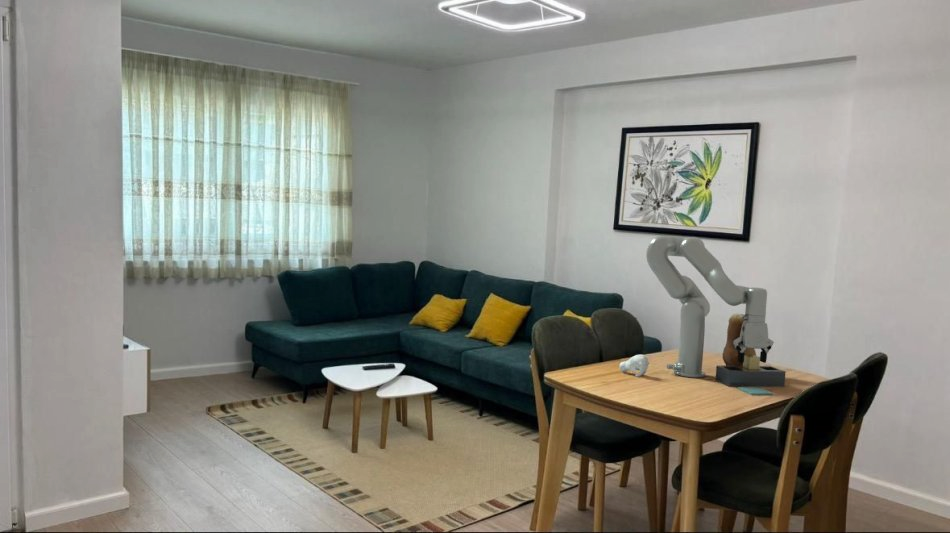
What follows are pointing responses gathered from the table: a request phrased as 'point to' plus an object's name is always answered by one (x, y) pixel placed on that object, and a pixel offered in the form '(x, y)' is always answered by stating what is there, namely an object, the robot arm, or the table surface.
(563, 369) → the table surface
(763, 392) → the teal rubber mat
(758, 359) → the tan rectangular block
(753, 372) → the graphite rack rail
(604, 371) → the table surface
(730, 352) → the butternut squash
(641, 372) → the white animal figurine
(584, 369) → the table surface
